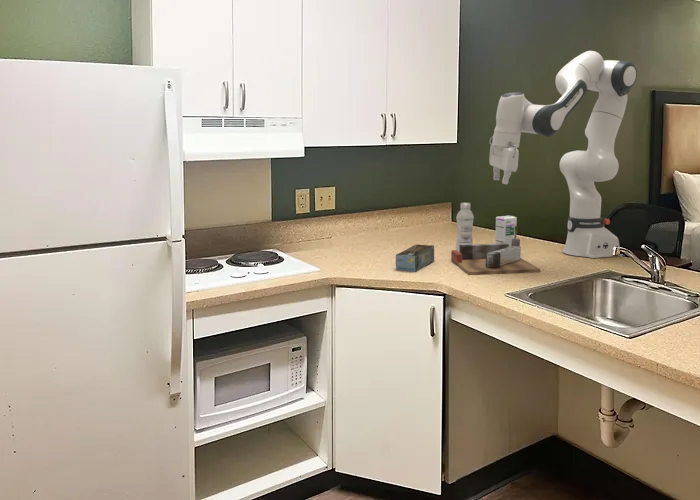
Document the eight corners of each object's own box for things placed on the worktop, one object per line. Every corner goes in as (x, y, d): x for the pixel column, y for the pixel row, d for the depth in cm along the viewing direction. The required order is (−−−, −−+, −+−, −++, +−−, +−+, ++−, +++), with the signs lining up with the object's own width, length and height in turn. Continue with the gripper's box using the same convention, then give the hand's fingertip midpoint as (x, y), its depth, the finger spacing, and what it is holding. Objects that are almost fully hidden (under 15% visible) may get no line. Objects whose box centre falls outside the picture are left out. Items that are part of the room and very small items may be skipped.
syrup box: (504, 255, 240) (505, 218, 237) (494, 252, 245) (495, 216, 242) (516, 254, 242) (517, 216, 239) (506, 251, 247) (507, 214, 244)
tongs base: (516, 258, 235) (517, 237, 233) (539, 271, 213) (541, 248, 212) (451, 260, 232) (451, 239, 230) (468, 274, 211) (469, 251, 209)
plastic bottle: (473, 256, 239) (474, 204, 235) (455, 255, 240) (456, 204, 236) (473, 252, 245) (474, 202, 241) (455, 252, 246) (456, 201, 242)
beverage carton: (394, 270, 219) (394, 252, 218) (415, 259, 236) (415, 242, 234) (415, 272, 215) (415, 254, 214) (435, 261, 232) (435, 244, 231)
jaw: (513, 258, 228) (513, 245, 227) (521, 260, 226) (521, 246, 225) (485, 267, 216) (486, 253, 215) (493, 268, 214) (494, 254, 213)
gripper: (525, 144, 202) (519, 187, 205) (505, 139, 221) (500, 178, 225) (506, 143, 201) (500, 185, 204) (488, 138, 221) (483, 177, 224)
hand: (500, 181), depth 215 cm, fingers open, 8 cm apart
